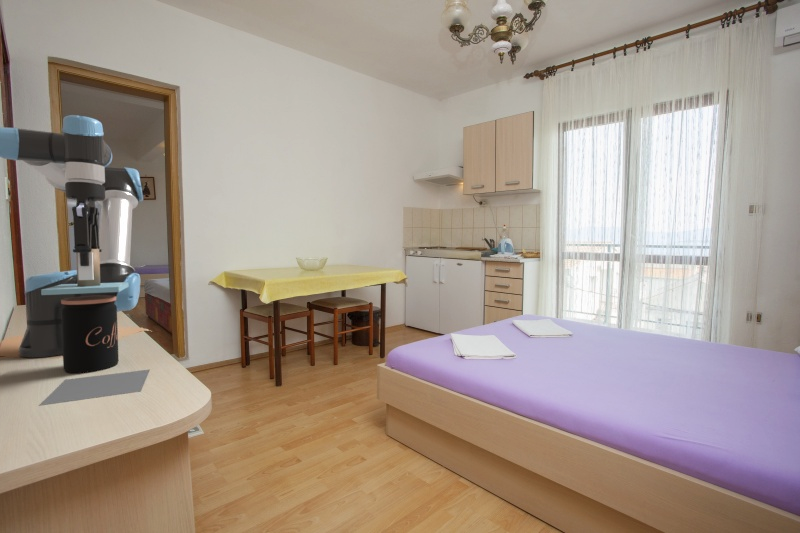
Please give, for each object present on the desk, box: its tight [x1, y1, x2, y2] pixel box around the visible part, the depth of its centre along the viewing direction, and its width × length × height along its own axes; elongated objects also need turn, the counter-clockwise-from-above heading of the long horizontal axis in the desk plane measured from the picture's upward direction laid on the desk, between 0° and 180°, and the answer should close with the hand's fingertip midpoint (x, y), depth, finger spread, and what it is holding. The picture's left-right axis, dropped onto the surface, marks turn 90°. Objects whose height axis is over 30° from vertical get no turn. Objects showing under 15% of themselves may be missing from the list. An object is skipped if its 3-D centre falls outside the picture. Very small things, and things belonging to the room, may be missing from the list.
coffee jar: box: [61, 295, 120, 375], centre depth 95 cm, size 11×11×18 cm
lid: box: [41, 249, 129, 295], centre depth 95 cm, size 14×14×10 cm
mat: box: [38, 369, 151, 407], centre depth 83 cm, size 16×16×1 cm
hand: (88, 278), depth 95 cm, fingers closed on lid, 4 cm apart
